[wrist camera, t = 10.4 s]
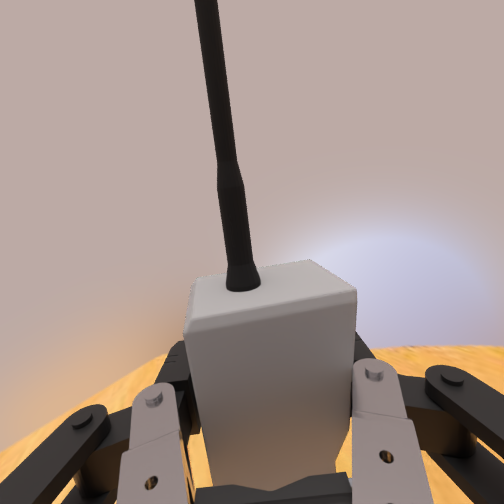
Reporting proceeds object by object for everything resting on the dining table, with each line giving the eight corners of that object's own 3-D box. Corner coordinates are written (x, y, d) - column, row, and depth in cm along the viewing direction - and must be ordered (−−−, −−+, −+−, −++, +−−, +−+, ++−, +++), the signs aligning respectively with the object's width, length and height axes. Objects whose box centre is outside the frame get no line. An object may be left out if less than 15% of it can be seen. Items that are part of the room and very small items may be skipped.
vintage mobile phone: (368, 652, 11) (350, -80, 6) (254, 695, 11) (98, -84, 5) (329, 541, 15) (294, 28, 9) (242, 568, 14) (145, 34, 8)
